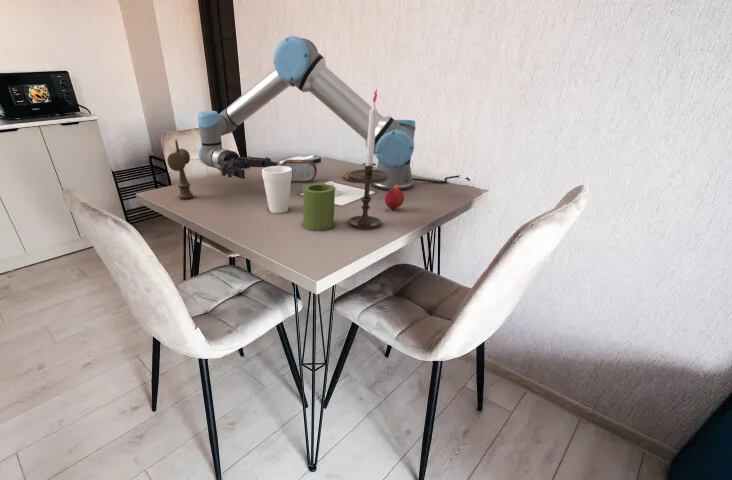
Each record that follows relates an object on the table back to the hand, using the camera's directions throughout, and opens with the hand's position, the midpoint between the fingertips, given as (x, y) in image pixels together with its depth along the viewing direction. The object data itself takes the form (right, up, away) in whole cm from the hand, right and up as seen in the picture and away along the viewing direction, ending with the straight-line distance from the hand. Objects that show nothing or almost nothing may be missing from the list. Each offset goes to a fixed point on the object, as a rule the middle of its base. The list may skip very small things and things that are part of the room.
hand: (260, 170), depth 123 cm
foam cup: (+6, -13, 0) cm, 14 cm away
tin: (+13, +6, +29) cm, 32 cm away
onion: (+43, -14, -3) cm, 45 cm away
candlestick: (+32, -20, -12) cm, 40 cm away
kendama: (-29, -5, +15) cm, 33 cm away
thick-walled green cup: (+18, -20, -12) cm, 30 cm away
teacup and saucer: (+27, -4, +14) cm, 31 cm away
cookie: (+37, +7, +31) cm, 48 cm away
